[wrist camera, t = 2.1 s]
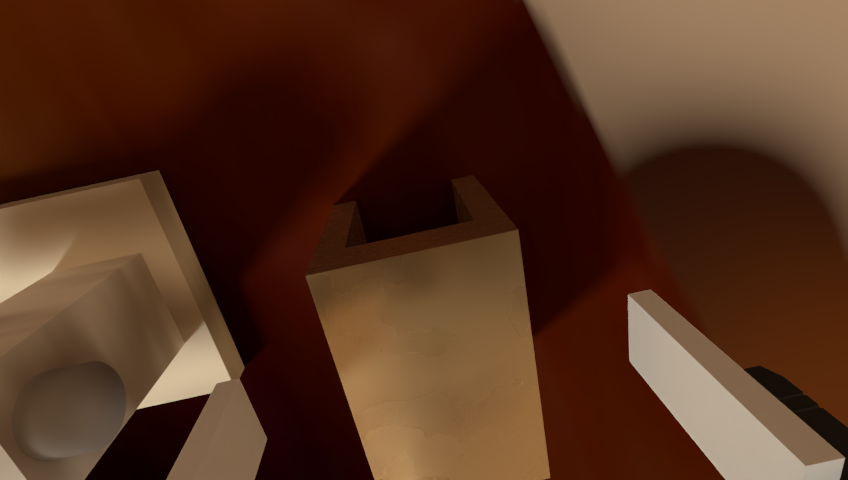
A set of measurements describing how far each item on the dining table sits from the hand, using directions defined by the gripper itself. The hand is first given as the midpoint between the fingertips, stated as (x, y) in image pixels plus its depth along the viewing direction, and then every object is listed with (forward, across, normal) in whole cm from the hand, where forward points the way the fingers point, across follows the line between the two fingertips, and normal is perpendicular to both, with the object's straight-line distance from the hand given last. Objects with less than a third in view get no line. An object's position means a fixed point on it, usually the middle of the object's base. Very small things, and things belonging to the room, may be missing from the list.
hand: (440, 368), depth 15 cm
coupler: (+6, 0, 0) cm, 6 cm away
